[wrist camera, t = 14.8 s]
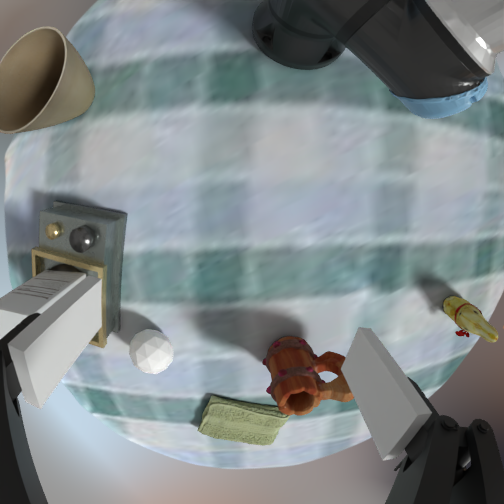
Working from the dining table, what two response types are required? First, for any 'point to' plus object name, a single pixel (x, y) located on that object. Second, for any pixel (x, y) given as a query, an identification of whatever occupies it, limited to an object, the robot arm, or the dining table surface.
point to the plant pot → (42, 82)
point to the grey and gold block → (85, 253)
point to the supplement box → (35, 296)
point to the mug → (303, 376)
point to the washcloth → (241, 421)
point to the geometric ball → (151, 351)
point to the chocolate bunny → (468, 318)
